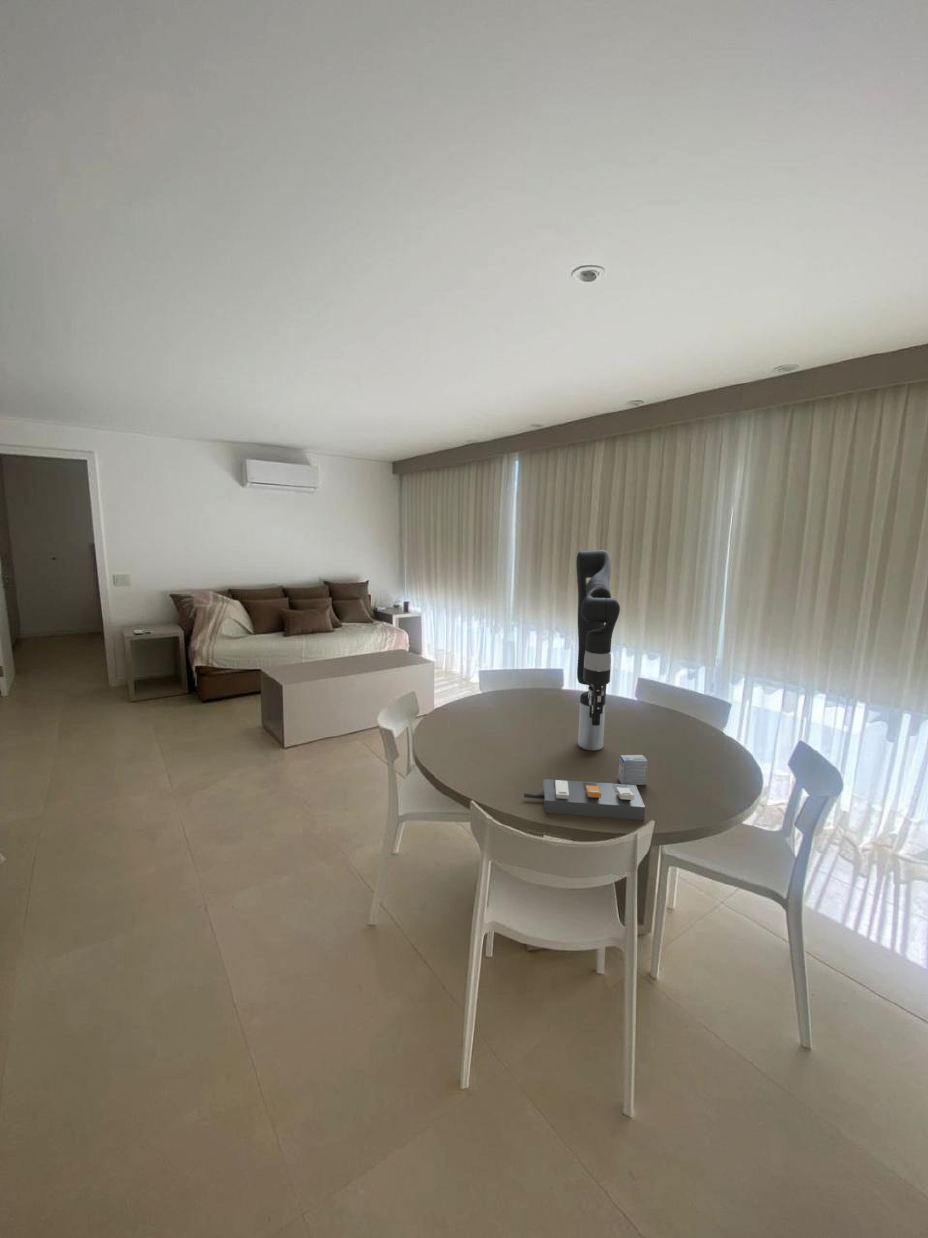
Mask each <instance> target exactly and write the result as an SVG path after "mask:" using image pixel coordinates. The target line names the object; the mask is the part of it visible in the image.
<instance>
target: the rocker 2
mask: <svg viewBox="0 0 928 1238" xmlns="http://www.w3.org/2000/svg"><path fill="white" fill-rule="evenodd" d="M586 793H587V795H588V797H597V798H601V791H600V789H599V787H598V786H589V785H586Z"/></svg>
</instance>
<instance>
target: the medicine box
mask: <svg viewBox="0 0 928 1238" xmlns="http://www.w3.org/2000/svg"><path fill="white" fill-rule="evenodd" d="M618 762H619V763H618V774H617V775H618V776H617V778H618V781H619V782H620V784H626V785H636V786H647V779H648V771H649V770H648V767H649V761H648V760H647V758H646V757H645V756H644V755H643V754H622V755H621V754H620V755H619V760H618Z"/></svg>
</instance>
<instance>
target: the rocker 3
mask: <svg viewBox="0 0 928 1238" xmlns="http://www.w3.org/2000/svg"><path fill="white" fill-rule="evenodd" d="M616 792H617V794H618V796H619V797H620V799H627V800H634V795H633V793H632V792H631V790H630V789H629V788H619V787H617V791H616Z"/></svg>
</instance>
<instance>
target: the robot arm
mask: <svg viewBox="0 0 928 1238" xmlns="http://www.w3.org/2000/svg"><path fill="white" fill-rule="evenodd" d="M575 561H576V562H575V563H576V566H575V567H576V580H577V581H576V582H577V597H578V598H577V636H578V638H577V639H578V641H577V642H578V644H577V645H578V647H577V648H578V649H577V666H576V677H577V682H578V683H579V684H580V685H584V686H585V685H586V686H588V688H587V690H588V691H584V692H583V693H581V694H580V695H579V697H580V698H579V715H578V717H579V718H578V719H579V720H578V736H577V737H578V738H577V740H578V741H577V746H579V747H580V748H581V749H583V750H587V751H600V750H601V749H602V748H603V747H604V733H605V718H606V717H605V716H606V700H607V699H606V697H607V686H608V685H609V684H610V682H611V671H612V670H611V668H612V667H611V666H612V655H611V653H612V652H611V651H612V650H611V649H612V637H613V632H614V630H615V627H616V624H617V621H618V619H619V616H620V611H621V606H620V603H619V601H618V600H617V599H615V598H614V597H613V598H612V593H611V587H610V581H611V569H612V568H611V567H612V566H611V563H612V562H611V555H610V553H609V552H608V551H607V550H604V549H595V550H592V549H591V550H581V551H578V552H577V554H576V560H575ZM588 578H589V580H588V581H587V579H588Z"/></svg>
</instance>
